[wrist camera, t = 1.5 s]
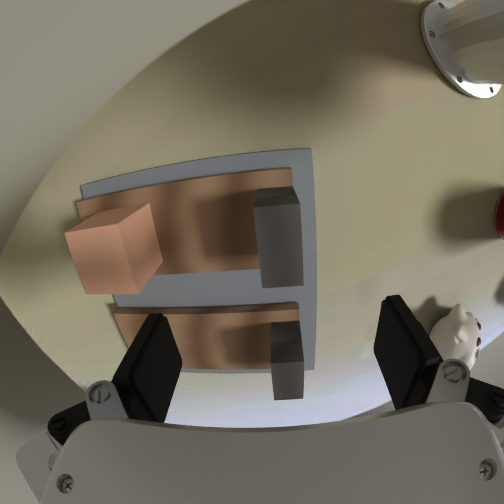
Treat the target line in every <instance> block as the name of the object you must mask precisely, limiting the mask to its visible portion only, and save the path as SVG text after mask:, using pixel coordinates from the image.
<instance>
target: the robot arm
mask: <svg viewBox="0 0 504 504" xmlns="http://www.w3.org/2000/svg"><path fill="white" fill-rule="evenodd" d="M421 31H422V35H423V39H424V42H425V44H426V47H427V49H428V51H429V53H430V55H431V57H432V59H433V61H434V62H435V64H436V65H437V67H438V68H439V70H440V71H441V72H442V74H443V75H444V76H445V77H446V78H447V79H448V80H449V82H450V83H451V84H452V85H454V86H455V87H456V88H457V89H458V90H460V91H461V92H463V93H464V94H466V95H468V96H470V97H473V98H478V99H487V98H491V97H493V96H494V95H496V94H497V93H498V91H499V90H500V88H501V85H502V84H504V0H465V1H463V2H461V3H459V4H457V3H455V2H452V1H449V0H436V1H434V2H432V3H430V4H429V5H427V6H426V7H425V8H424V10H423V12H422V16H421ZM374 354H375V356H376V359H377V361H378V364H379V366H380V369H381V372H382V374H383V377H384V379H385V382H386V385H387V387H388V390H389V393H390V396H391V398H392V401H393V404H394V407H395V409H396V410H394V411H390V412H385V413H380V414H375V415H370V416H365V417H360V418H355V419H349V420H342V421H336V422H328V423H320V424H311V425H301V426H288V427H269V428H220V427H201V426H188V425H178V424H168V423H164V421H165V418H166V415H167V412H168V409H169V406H170V402H171V399H172V396H173V393H174V390H175V387H176V384H177V381H178V378H179V374H180V371H181V368H182V358H181V355H180V352H179V350H178V347H177V344H176V342H175V339H174V336H173V333H172V330H171V327H170V324H169V322H168V319H167V317H166V316H164V315H163V314H162V313H149V314H148V316H147V318H146V319H145V321H144V323H143V324H142V326H141V328H140V330H139V331H138V333H137V335H136V336H135V338H134V340H133V342H132V344H131V345H130V347H129V349H128V351H127V352H126V354H125V356H124V358H123V360H122V361H121V363H120V365H119V367H118V369H117V371H116V373H115V374H114V376H113V379H112V381H111V382H110V381H106V380H104V381H98V382H96V383H94V384H92V385H91V386H90V387H89V388H88V390H87V391H86V394H85V399H86V401H84V402H82V403H80V404H77V405H75V406H73V407H71V408H69V409H66V410H64V411H62V412H60V413H57V414H56V415H54V416H53V417H52V418H51V419H50V421H49V423H48V430H47V431H45V430H42V431H41V432H40V433H39V434H37V435H36V436H35V437H34V438H32V439H31V440H30V441H29V442H27V443H26V444H25V445H23V446H22V447H21V448H20V449H19V450H18V451H17V454H16V461H17V464H18V465H19V468H20V469H21V471H22V473H23V475H24V477H25V479H26V480H27V482H28V484H29V486H30V488H31V489H32V491H33V493H34V494H35V496H36V497H37V499H38V501H39V502H40V504H504V389H502V388H500V387H497V386H494V385H491V384H488V383H485V382H482V381H479V380H476V379H474V378H471V377H470V370H469V368H468V366H467V365H466V364H465V363H464V362H463V361H461V360H458V359H447V360H443V358H442V356H441V355H440V353H439V352H438V350H437V348H436V347H435V345H434V343H433V342H432V340H431V339H430V337H429V336H428V334H427V333H426V331H425V329H424V328H423V326H422V325H421V323H420V322H419V321H417V319H416V318H415V316H414V315H413V313H412V312H411V310H410V309H409V308H408V306H407V305H406V303H405V302H404V300H403V299H402V298H401V296H400V295H392V296H387V297H386V299H385V300H383V301H382V304H381V311H380V316H379V322H378V327H377V333H376V338H375V342H374Z"/></svg>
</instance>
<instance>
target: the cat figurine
mask: <svg viewBox="0 0 504 504" xmlns="http://www.w3.org/2000/svg"><path fill="white" fill-rule="evenodd" d="M480 329H481V325H480V323H479V322H478V320H477V319H476V318H475V317H474V315H473V314H472V313H470V312H466V313H465V311H464V308H463V307H462V305H460V304H456V305H455V306H454V307H453V308H452V310H451V311H450V313H449V314H448V315H447V316H445V317H443V318H442V319H440V320H439V321H438V322H437V323H436V324H435V325H434V327H433V329H432V331H431V333H430V339H431V340H432V342H433V343H434V345H435V347H436V348H437V350H438V352H439V353H440V355H441V356H442V358H443V360H447V359H458V360H461V361H463V362H464V363H465V364H466V365H467V366H468V368H469V370H470V369H471V368H472V367H473V365H474V363H475V359H476V358H477V359H479V358H480V351H479V347H480V344H481V332H480Z"/></svg>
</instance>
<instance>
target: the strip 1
mask: <svg viewBox="0 0 504 504" xmlns="http://www.w3.org/2000/svg"><path fill="white" fill-rule="evenodd" d="M145 203H149V204H150V208H151V213H152V218H153V222H154V226H155V231H156V235H157V239H158V243H159V247H160V251H161V255H162V259H163V262H162V263H161V265H160V266H159V267H158V269H157V270H156V271H155V273H154V274H153V275H168V274H186V273H202V272H218V271H234V270H248V269H260V273H261V282H262V288H277V287H291V286H304V274H303V247H302V226H301V209H300V202H299V200H298V197H297V195H296V192H295V190H294V187H293V181H292V169H291V167H284V168H271V169H260V170H250V171H241V172H232V173H224V174H216V175H209V176H201V177H195V178H188V179H182V180H175V181H169V182H163V183H158V184H152V185H147V186H142V187H137V188H132V189H127V190H122V191H117V192H113V193H108V194H104V195H99V196H95V197H91V198H87V199H83V200H80V201H78V202H76V204H77V208H78V212H79V216H80V220H81V222H83V221H85V220H86V219H88V218H90V217H91V216H93V215H95V214H97V213H98V212H101V211H106V210H111V209H116V208H122V207H128V206H133V205H139V204H145Z"/></svg>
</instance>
